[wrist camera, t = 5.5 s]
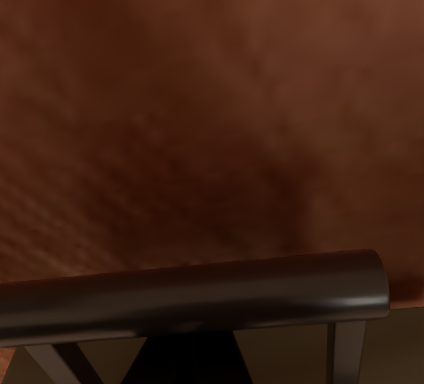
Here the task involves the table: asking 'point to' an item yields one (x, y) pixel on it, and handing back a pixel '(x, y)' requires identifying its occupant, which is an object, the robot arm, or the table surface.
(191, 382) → the robot arm
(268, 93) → the table surface
